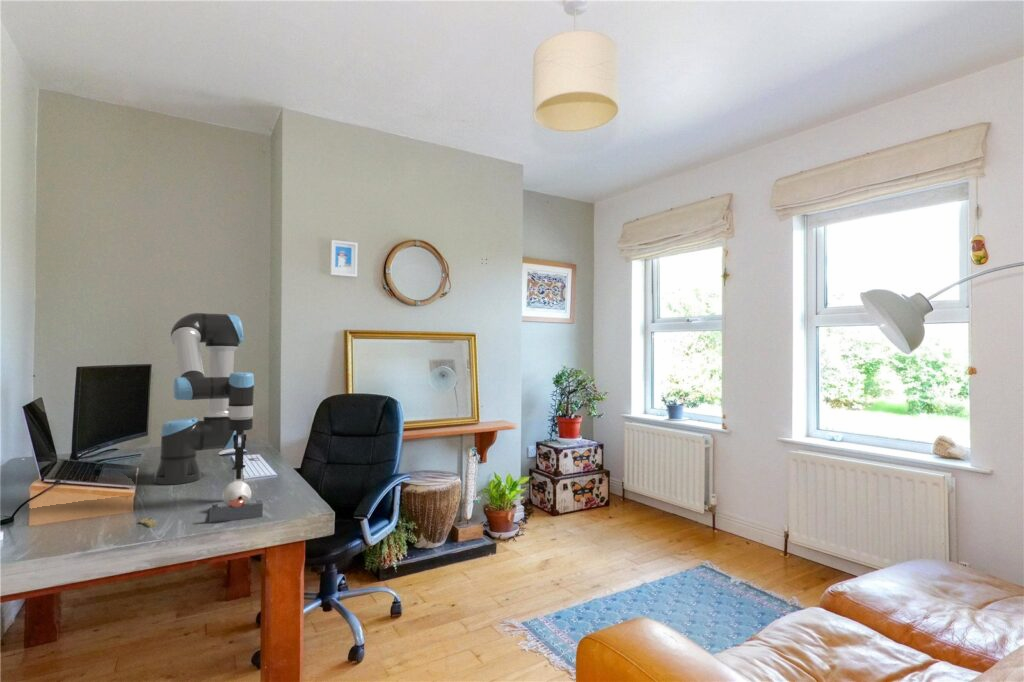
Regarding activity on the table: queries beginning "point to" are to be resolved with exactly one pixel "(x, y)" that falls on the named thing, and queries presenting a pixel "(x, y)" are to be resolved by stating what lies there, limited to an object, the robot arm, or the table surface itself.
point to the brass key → (148, 522)
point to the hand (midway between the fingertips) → (238, 487)
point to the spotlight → (236, 492)
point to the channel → (236, 510)
